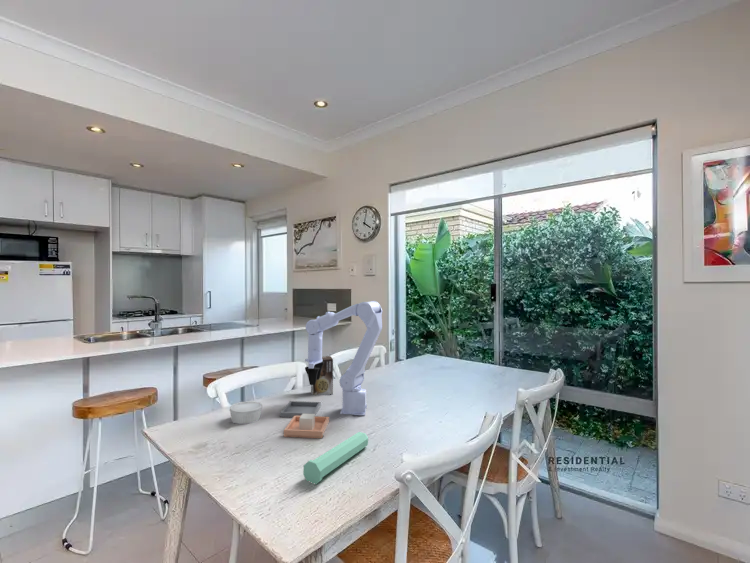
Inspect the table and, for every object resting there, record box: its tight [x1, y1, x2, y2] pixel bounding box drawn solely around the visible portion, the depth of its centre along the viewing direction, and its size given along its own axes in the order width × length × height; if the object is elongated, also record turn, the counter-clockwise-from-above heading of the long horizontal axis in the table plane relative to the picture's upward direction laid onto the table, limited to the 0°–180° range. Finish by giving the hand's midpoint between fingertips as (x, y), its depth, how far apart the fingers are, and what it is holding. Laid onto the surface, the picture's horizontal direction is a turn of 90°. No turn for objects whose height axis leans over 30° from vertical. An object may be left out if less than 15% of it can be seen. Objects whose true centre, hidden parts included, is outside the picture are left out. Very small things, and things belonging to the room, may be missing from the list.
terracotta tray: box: [283, 415, 330, 439], centre depth 124 cm, size 13×13×2 cm
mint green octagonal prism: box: [302, 431, 369, 485], centre depth 103 cm, size 6×6×25 cm
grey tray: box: [279, 400, 322, 418], centre depth 139 cm, size 13×13×2 cm
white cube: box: [299, 414, 315, 430], centre depth 124 cm, size 4×4×4 cm
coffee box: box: [310, 355, 334, 396], centre depth 163 cm, size 9×6×16 cm
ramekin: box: [229, 400, 263, 425], centre depth 131 cm, size 11×11×5 cm
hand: (314, 382), depth 148 cm, fingers open, 7 cm apart
